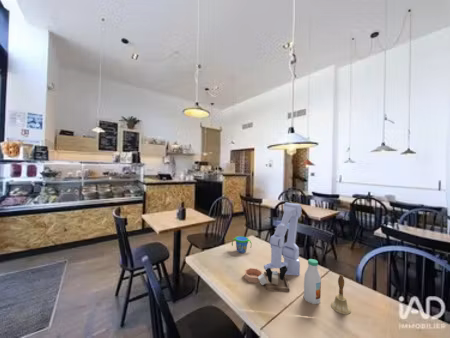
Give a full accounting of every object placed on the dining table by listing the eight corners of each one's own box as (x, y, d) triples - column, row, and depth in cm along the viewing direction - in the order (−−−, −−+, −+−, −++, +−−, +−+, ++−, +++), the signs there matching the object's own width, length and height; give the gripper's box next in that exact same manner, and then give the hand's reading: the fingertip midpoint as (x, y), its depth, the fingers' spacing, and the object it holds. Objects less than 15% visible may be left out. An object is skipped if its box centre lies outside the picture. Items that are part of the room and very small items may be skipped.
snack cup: (252, 249, 161) (252, 237, 161) (250, 255, 151) (250, 242, 151) (233, 247, 166) (233, 235, 166) (230, 252, 156) (230, 239, 155)
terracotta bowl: (261, 274, 124) (262, 268, 124) (263, 284, 114) (263, 278, 114) (244, 273, 126) (245, 267, 126) (244, 282, 115) (244, 276, 115)
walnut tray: (284, 276, 122) (284, 273, 122) (289, 292, 107) (289, 288, 107) (263, 275, 124) (263, 271, 124) (265, 290, 108) (265, 286, 108)
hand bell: (349, 317, 90) (350, 282, 90) (328, 308, 96) (329, 275, 95) (352, 307, 96) (353, 274, 96) (333, 300, 102) (334, 268, 102)
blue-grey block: (277, 277, 121) (277, 271, 121) (278, 280, 117) (278, 274, 117) (271, 276, 121) (271, 270, 121) (272, 279, 118) (272, 274, 118)
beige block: (278, 281, 116) (278, 275, 116) (278, 284, 113) (278, 278, 113) (272, 280, 117) (272, 274, 117) (271, 283, 114) (272, 277, 114)
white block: (262, 273, 115) (264, 276, 111) (265, 279, 115) (267, 282, 111) (257, 276, 115) (258, 279, 111) (260, 282, 114) (262, 285, 111)
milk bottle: (310, 306, 97) (311, 265, 97) (300, 296, 104) (301, 258, 104) (323, 303, 99) (325, 263, 99) (313, 294, 106) (314, 256, 106)
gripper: (283, 252, 121) (282, 275, 121) (261, 255, 117) (261, 278, 117) (290, 257, 114) (289, 281, 114) (267, 260, 110) (266, 285, 110)
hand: (275, 280), depth 115 cm, fingers open, 7 cm apart
